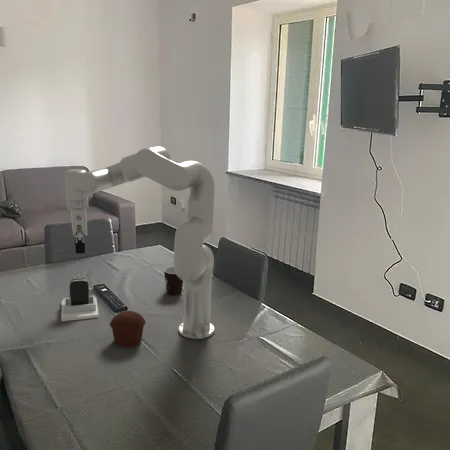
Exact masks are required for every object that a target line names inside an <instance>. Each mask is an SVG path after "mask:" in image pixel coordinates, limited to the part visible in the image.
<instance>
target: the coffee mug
mask: <svg viewBox="0 0 450 450" xmlns="http://www.w3.org/2000/svg"><path fill="white" fill-rule="evenodd" d="M163 273H164V274H163V275H164V282H165V290H166V295H168V296H179V295H181V294H182V293H183V287H184V281H183V280H181V279H180V278H179V277H178V276H177V275H176V273H175V270H174V266H168V267H165V268H164V269H163Z"/></svg>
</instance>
